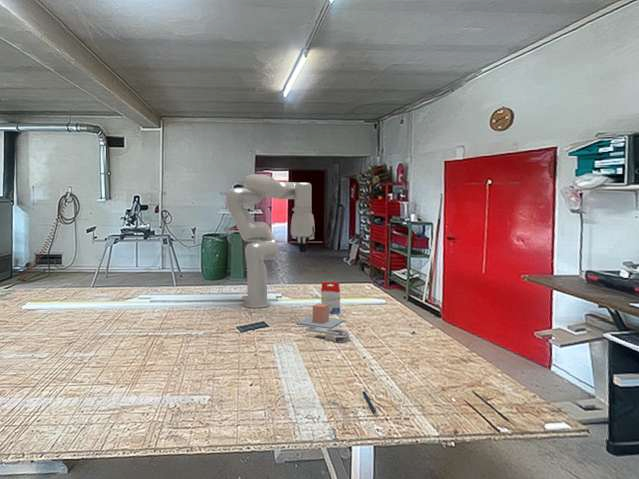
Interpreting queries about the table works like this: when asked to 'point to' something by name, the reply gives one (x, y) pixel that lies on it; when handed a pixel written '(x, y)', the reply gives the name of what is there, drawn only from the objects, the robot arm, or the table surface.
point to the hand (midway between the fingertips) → (303, 252)
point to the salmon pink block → (320, 313)
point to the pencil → (369, 403)
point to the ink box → (331, 296)
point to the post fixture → (328, 324)
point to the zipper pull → (332, 334)
